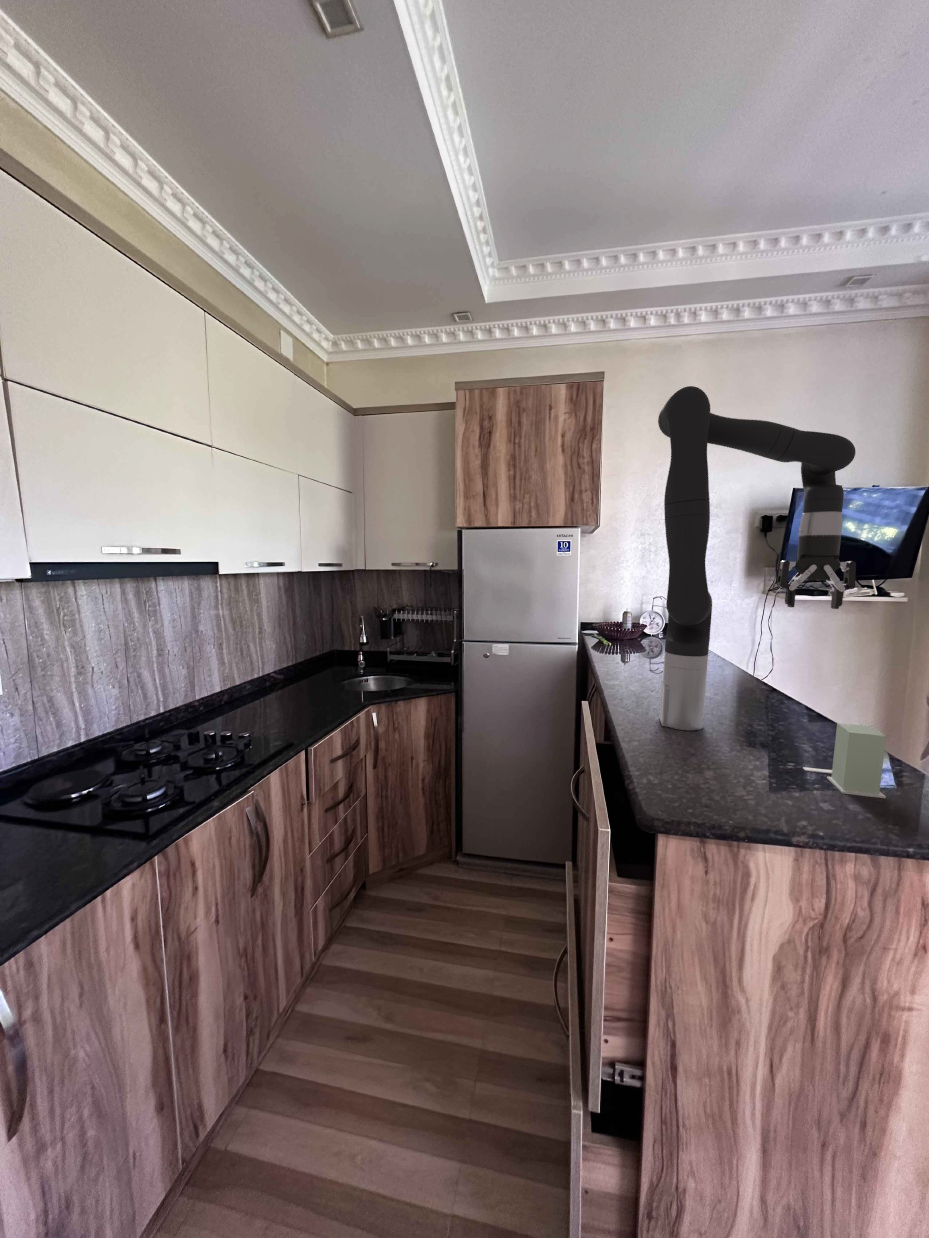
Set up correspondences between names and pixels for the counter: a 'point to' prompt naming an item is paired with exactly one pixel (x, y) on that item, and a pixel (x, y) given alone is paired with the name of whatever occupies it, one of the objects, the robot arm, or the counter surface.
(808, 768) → the pale grey thin rod
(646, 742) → the counter surface
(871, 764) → the sage block
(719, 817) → the counter surface
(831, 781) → the mat
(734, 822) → the counter surface
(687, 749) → the counter surface
